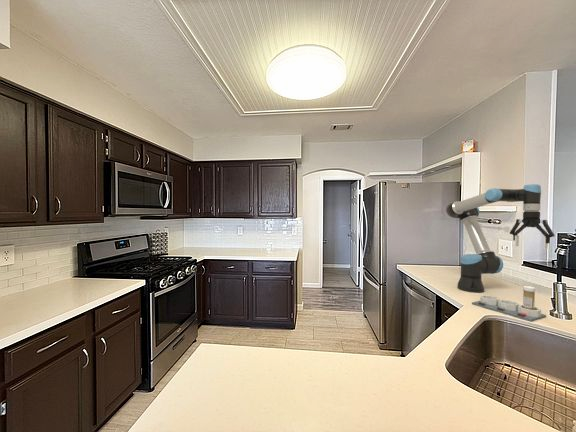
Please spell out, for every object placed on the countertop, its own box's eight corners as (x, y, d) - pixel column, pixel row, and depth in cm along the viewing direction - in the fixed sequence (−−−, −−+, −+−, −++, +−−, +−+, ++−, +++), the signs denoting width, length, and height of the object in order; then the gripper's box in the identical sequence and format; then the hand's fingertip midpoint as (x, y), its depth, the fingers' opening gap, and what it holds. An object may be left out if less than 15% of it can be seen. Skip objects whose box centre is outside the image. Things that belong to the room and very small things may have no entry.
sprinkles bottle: (536, 314, 137) (537, 287, 137) (529, 315, 136) (530, 288, 135) (527, 311, 141) (527, 285, 141) (520, 312, 140) (520, 285, 140)
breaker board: (471, 304, 154) (471, 297, 154) (487, 300, 161) (487, 294, 161) (531, 321, 130) (531, 313, 130) (546, 317, 137) (546, 309, 137)
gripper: (503, 211, 169) (502, 245, 170) (556, 211, 147) (555, 250, 147) (510, 211, 173) (509, 244, 173) (563, 211, 150) (562, 250, 151)
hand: (530, 247), depth 160 cm, fingers open, 13 cm apart
